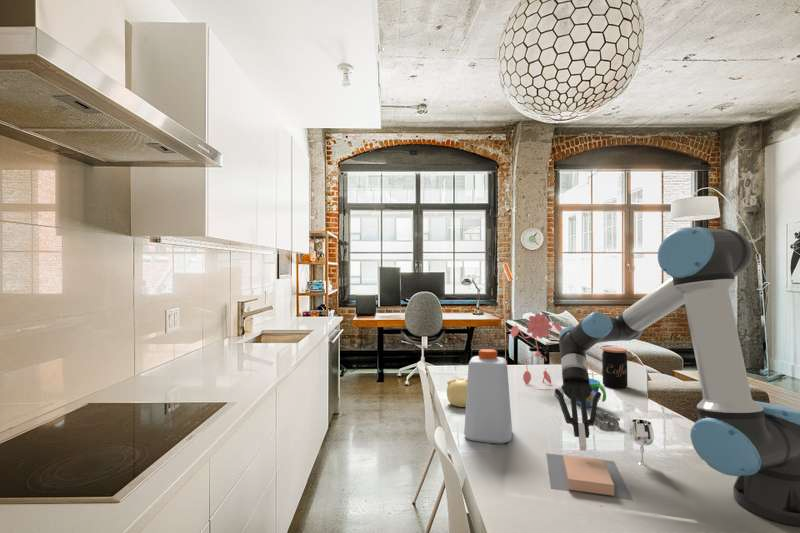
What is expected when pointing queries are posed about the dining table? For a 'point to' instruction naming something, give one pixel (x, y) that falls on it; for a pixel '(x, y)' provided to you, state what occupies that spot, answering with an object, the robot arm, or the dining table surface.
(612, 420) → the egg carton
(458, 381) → the sculpture
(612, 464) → the mat
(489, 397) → the plastic bottle
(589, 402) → the snack cup
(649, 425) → the wineglass
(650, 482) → the dining table surface
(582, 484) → the peach rectangular block
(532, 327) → the pink flower
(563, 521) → the dining table surface
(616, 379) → the coffee jar
